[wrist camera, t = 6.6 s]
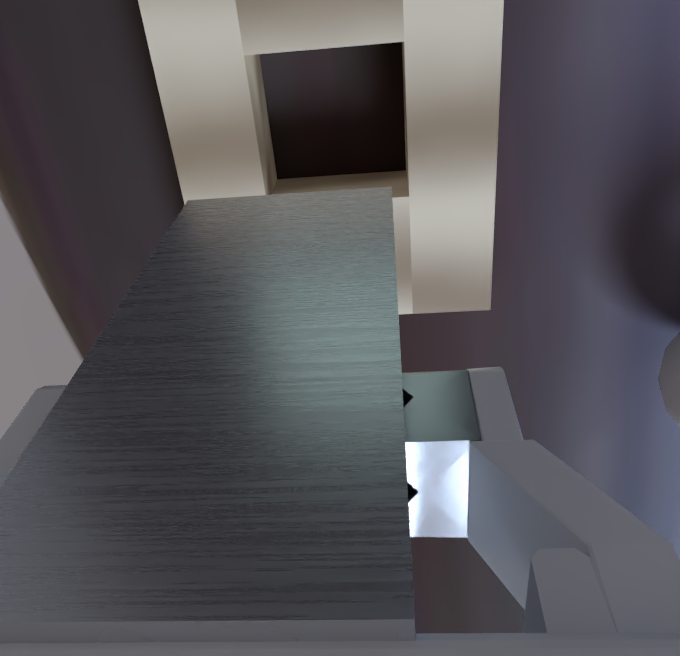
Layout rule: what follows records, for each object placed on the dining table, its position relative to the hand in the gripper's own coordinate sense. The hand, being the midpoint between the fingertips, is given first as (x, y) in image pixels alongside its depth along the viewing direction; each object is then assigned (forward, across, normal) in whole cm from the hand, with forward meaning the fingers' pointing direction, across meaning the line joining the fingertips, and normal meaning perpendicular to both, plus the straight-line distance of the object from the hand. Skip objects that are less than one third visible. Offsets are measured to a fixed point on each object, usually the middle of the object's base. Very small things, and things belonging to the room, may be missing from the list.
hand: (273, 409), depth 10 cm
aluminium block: (+4, 0, 0) cm, 4 cm away
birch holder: (+19, 0, 0) cm, 19 cm away
